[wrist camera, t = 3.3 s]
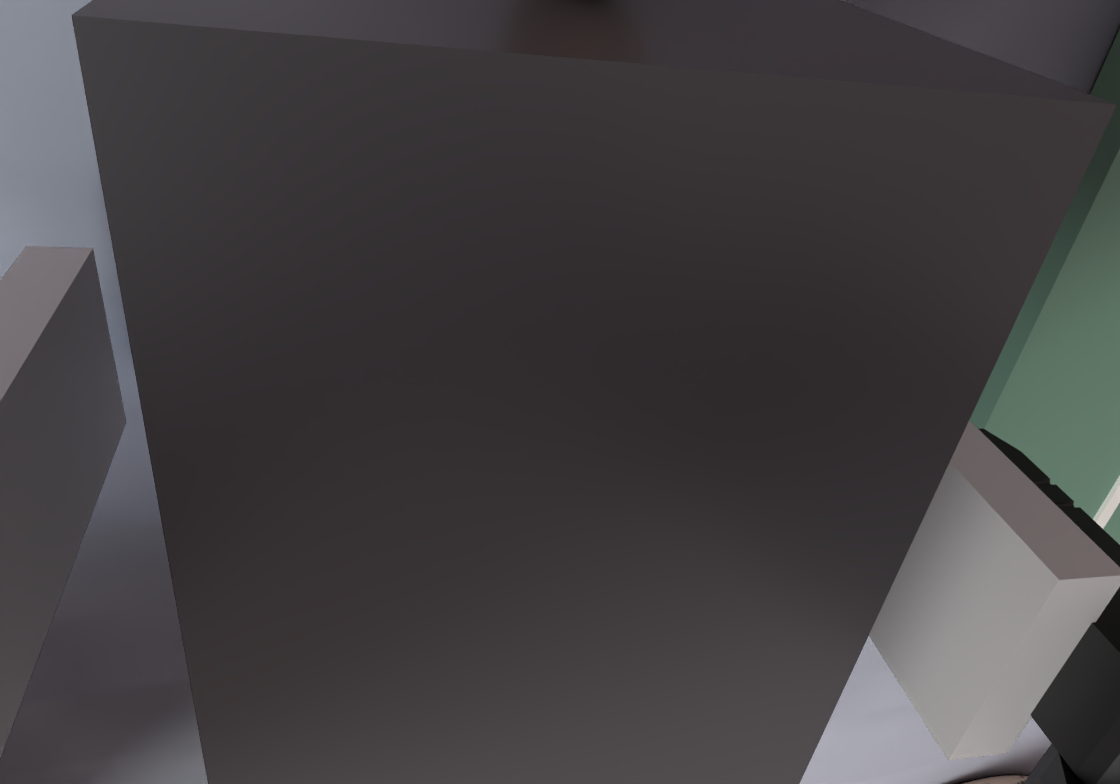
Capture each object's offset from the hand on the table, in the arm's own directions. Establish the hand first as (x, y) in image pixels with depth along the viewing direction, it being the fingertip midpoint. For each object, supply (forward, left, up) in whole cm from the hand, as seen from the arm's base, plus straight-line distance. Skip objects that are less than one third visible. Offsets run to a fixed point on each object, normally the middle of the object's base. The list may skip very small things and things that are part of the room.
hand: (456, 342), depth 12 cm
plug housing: (0, +3, -1) cm, 3 cm away
